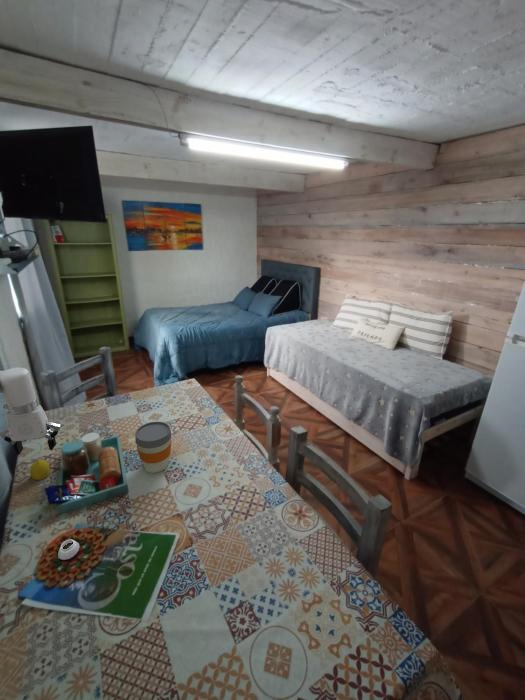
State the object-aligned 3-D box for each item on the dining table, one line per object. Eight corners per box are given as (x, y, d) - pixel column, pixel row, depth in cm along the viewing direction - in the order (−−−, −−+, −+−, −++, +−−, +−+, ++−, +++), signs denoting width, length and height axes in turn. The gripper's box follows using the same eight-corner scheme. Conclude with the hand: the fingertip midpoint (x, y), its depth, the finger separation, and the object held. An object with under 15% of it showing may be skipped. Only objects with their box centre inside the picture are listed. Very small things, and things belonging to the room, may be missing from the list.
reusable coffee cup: (131, 471, 115) (126, 437, 110) (152, 450, 127) (148, 418, 121) (161, 479, 112) (157, 445, 107) (180, 457, 123) (177, 424, 118)
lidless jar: (77, 540, 90) (57, 550, 87) (75, 532, 89) (54, 542, 86) (81, 553, 86) (60, 564, 83) (79, 545, 85) (58, 556, 82)
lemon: (55, 477, 111) (50, 459, 108) (38, 487, 107) (33, 468, 104) (46, 471, 114) (42, 453, 111) (29, 481, 109) (24, 462, 107)
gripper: (-15, 415, 95) (1, 461, 101) (49, 409, 99) (61, 453, 105) (-3, 402, 101) (12, 446, 108) (58, 397, 105) (68, 439, 112)
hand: (36, 449), depth 106 cm, fingers open, 9 cm apart
